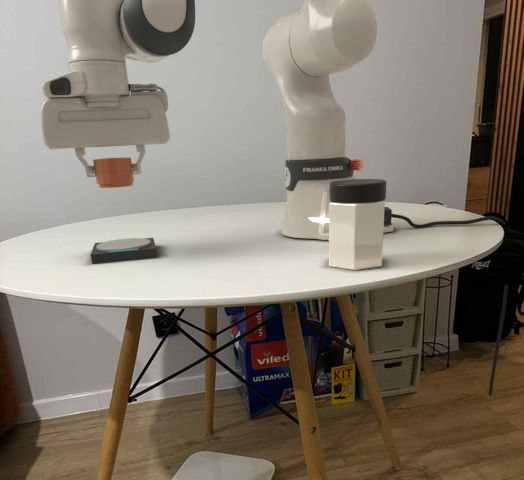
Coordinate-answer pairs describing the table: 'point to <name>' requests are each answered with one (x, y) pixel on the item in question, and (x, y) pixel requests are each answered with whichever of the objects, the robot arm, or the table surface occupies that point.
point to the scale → (123, 250)
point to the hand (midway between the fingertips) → (114, 175)
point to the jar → (356, 223)
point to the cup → (113, 172)
